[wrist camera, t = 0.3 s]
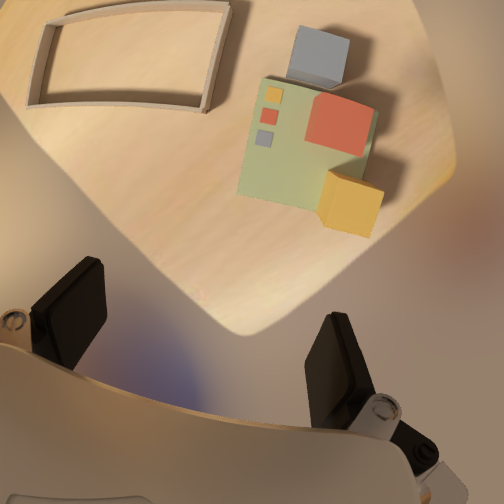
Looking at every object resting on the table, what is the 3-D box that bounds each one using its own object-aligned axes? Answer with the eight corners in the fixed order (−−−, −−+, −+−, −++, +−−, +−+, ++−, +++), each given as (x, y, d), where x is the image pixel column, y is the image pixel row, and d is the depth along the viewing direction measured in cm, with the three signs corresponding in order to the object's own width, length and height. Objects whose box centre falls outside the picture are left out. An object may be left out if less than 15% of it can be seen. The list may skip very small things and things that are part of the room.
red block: (314, 97, 31) (323, 91, 26) (357, 111, 31) (374, 108, 26) (303, 140, 34) (311, 142, 28) (347, 152, 34) (362, 157, 28)
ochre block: (327, 170, 35) (339, 177, 30) (367, 182, 35) (384, 192, 30) (316, 212, 38) (324, 227, 32) (355, 222, 38) (369, 238, 32)
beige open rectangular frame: (54, 25, 25) (44, 22, 23) (233, 10, 27) (231, 2, 24) (36, 108, 32) (24, 109, 30) (208, 114, 34) (203, 113, 31)
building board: (261, 79, 31) (261, 77, 30) (376, 112, 32) (379, 111, 31) (237, 192, 38) (236, 194, 37) (346, 217, 39) (349, 220, 38)
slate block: (294, 39, 29) (299, 25, 23) (338, 51, 29) (350, 39, 24) (285, 77, 31) (289, 68, 26) (329, 89, 32) (341, 82, 26)
